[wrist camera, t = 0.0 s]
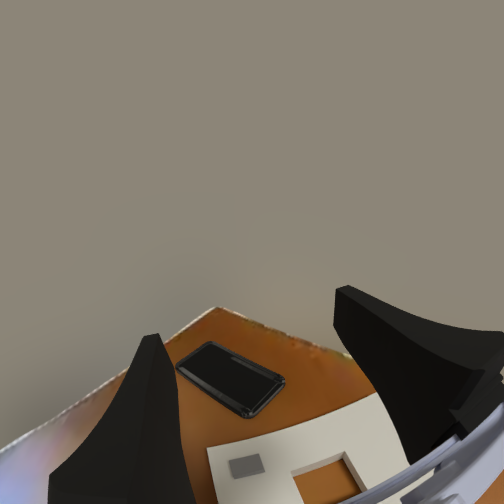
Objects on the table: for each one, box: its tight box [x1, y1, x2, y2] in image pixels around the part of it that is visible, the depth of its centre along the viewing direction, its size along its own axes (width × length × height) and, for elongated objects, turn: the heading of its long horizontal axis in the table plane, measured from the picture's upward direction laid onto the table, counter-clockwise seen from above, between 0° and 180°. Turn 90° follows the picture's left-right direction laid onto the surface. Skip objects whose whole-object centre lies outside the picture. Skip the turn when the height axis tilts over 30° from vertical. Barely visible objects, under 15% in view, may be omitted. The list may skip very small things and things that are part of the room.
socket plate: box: [207, 392, 436, 504], centre depth 18 cm, size 16×20×3 cm
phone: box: [175, 341, 285, 419], centre depth 36 cm, size 8×1×15 cm
